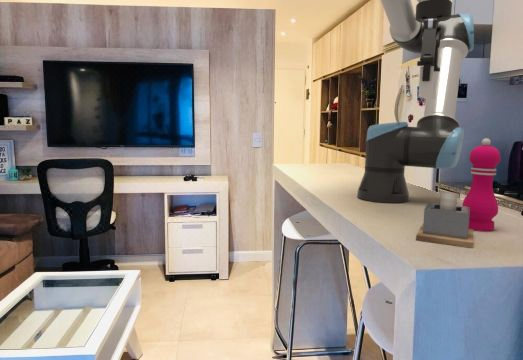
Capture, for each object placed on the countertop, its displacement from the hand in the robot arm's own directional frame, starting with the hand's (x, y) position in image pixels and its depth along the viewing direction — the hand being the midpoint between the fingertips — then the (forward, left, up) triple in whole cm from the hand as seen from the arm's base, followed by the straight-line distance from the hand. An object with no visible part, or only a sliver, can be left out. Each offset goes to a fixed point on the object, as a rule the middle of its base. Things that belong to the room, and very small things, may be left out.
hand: (427, 98), depth 98 cm
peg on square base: (+15, +7, -29) cm, 33 cm away
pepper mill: (+2, +13, -29) cm, 32 cm away
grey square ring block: (+15, +7, -28) cm, 32 cm away
